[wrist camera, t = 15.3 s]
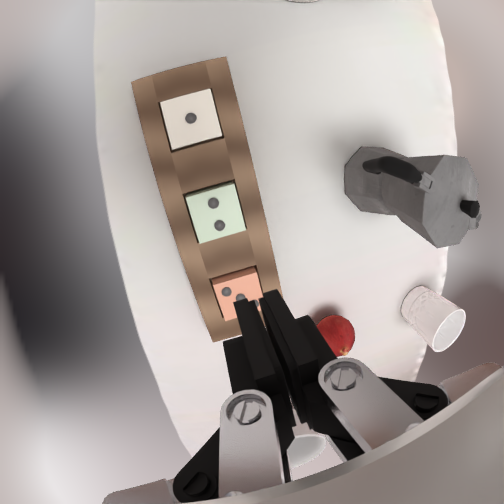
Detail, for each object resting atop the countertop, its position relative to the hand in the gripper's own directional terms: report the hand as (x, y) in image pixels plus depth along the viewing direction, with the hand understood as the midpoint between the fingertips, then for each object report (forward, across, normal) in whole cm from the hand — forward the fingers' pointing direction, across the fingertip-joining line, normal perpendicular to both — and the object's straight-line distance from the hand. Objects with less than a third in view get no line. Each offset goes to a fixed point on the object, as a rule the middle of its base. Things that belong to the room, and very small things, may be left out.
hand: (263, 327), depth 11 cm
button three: (+23, 0, +10) cm, 25 cm away
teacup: (+24, 0, +38) cm, 45 cm away
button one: (+23, 0, -10) cm, 25 cm away
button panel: (+24, 0, 0) cm, 24 cm away
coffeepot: (+25, -20, +2) cm, 32 cm away
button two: (+23, 0, 0) cm, 23 cm away
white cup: (+24, -29, +25) cm, 45 cm away
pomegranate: (+24, -11, +21) cm, 34 cm away
